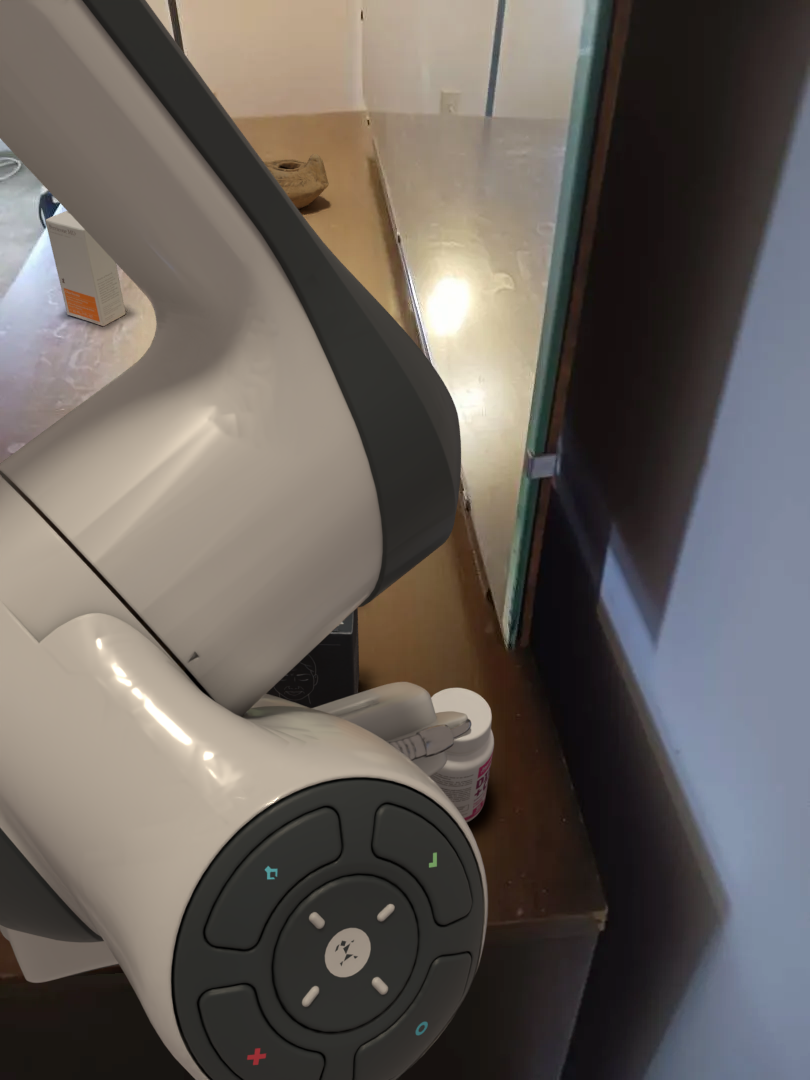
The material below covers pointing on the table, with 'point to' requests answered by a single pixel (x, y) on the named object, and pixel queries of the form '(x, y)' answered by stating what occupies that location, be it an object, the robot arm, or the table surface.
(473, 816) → the pill bottle
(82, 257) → the cosmetic box
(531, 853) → the table surface
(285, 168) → the oil lamp
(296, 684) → the box
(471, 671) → the table surface
